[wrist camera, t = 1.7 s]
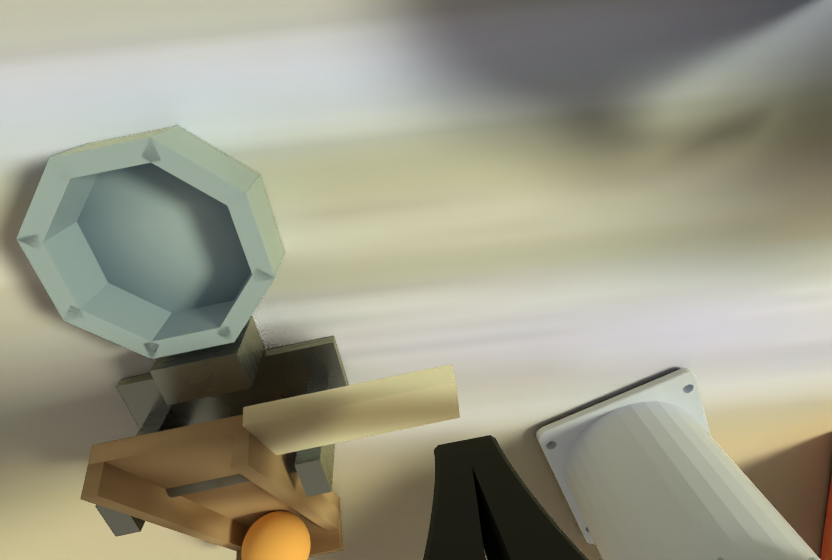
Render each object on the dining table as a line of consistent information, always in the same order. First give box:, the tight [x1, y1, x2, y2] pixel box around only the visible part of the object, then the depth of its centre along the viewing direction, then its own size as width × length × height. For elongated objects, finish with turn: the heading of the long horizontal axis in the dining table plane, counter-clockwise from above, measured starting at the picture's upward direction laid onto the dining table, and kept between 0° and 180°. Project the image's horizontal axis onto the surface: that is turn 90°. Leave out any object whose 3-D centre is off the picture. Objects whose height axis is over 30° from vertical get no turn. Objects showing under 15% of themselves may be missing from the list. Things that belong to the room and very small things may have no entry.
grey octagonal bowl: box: [16, 125, 285, 359], centre depth 17 cm, size 7×7×2 cm
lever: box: [81, 364, 460, 560], centre depth 19 cm, size 12×12×3 cm
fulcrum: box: [95, 316, 349, 536], centre depth 19 cm, size 7×9×5 cm
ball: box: [241, 511, 311, 560], centre depth 22 cm, size 3×3×3 cm
